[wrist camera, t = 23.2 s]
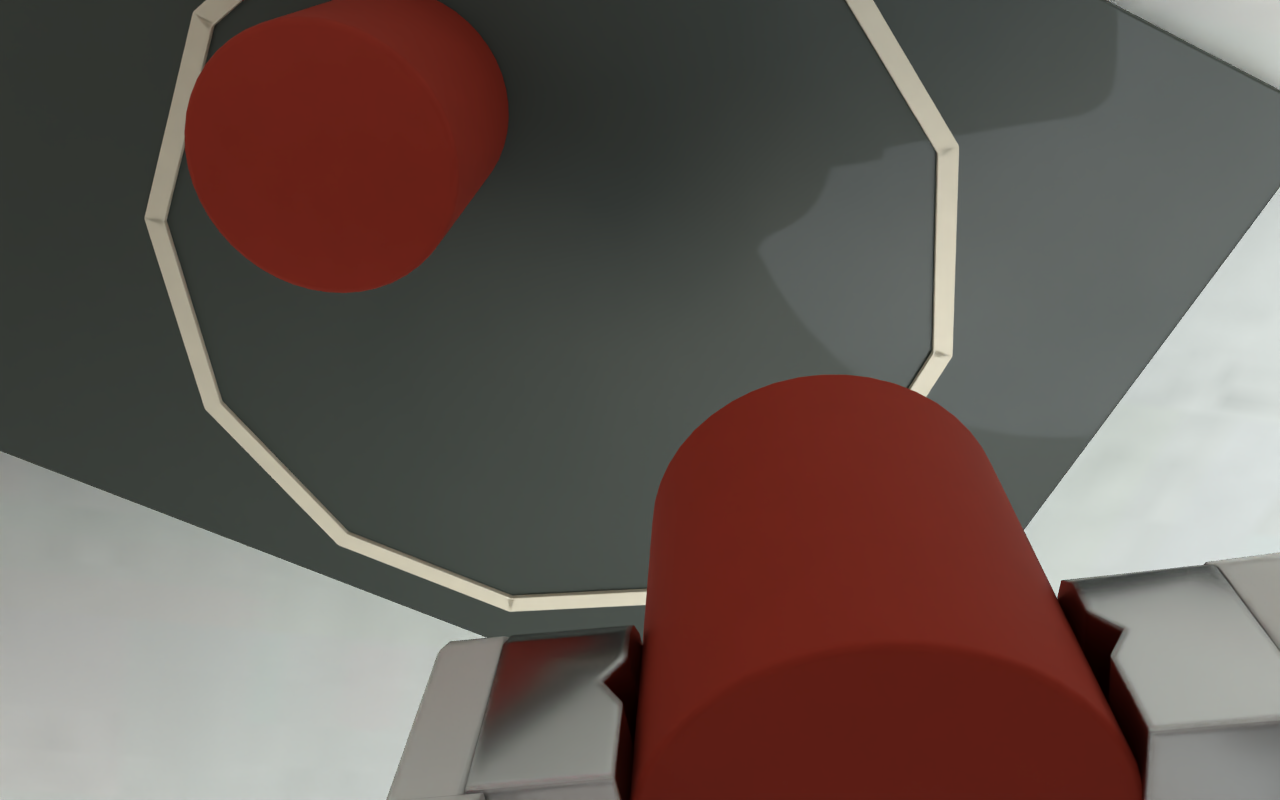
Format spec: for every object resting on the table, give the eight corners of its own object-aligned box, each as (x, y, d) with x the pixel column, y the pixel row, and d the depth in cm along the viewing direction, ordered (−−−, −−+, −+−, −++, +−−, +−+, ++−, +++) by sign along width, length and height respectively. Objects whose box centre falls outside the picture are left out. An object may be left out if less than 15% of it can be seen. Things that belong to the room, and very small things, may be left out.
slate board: (836, 737, 21) (842, 778, 20) (-42, 396, 19) (-83, 424, 18) (1296, 105, 16) (1336, 119, 15) (106, -513, 13) (57, -545, 12)
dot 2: (884, 704, 11) (962, 1061, 7) (599, 588, 10) (550, 915, 7) (1071, 460, 9) (1265, 768, 6) (751, 313, 9) (777, 561, 6)
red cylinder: (456, 248, 16) (395, 339, 13) (262, 149, 16) (147, 217, 12) (546, 58, 15) (503, 107, 12) (336, -57, 14) (229, -40, 11)
